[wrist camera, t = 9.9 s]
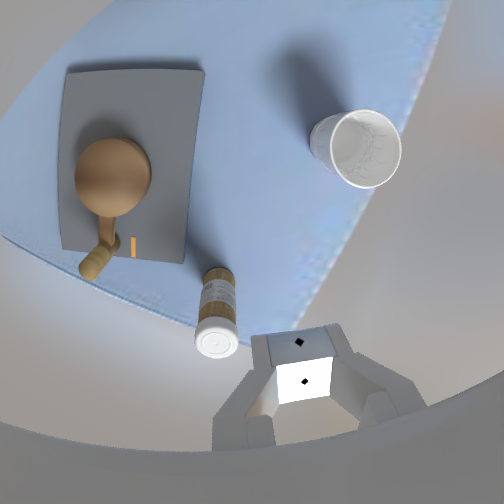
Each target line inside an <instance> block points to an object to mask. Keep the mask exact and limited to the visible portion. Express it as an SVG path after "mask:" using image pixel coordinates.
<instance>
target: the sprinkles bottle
mask: <svg viewBox="0 0 504 504" xmlns="http://www.w3.org/2000/svg"><path fill="white" fill-rule="evenodd" d="M195 345H196V348H197V349H198V351H200V353H202V354H203V355H205V356H207V357H210V358H224V357H227V356H229V355H231V354H232V353H233V352H234V351H235V350H236V349H237V347H238V329H237V327H236V297H235V279H234V276H233V275H232V273H231V272H230V271H228V270H226V269H224V268H214V269H211V270H210V271H208V272H207V273H206V274H205V276H204V278H203V289H202V293H201V299H200V306H199V319H198V325H197V327H196V330H195Z"/></svg>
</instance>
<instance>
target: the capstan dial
mask: <svg viewBox="0 0 504 504" xmlns="http://www.w3.org/2000/svg"><path fill="white" fill-rule="evenodd" d="M151 179H152V168H151V163H150V160H149V158H148V156H147V154H146V152H145V151H144V150H143V148H142V147H141V146H140V145H139V144H137V143H136V142H134V141H132V140H130V139H127V138H122V137H116V138H109V139H103V140H99V141H97V142H94V143H93V144H91V145H90V146H89V147H87V148H86V149H85V150H84V152H83V153H82V154H81V156H80V158H79V160H78V162H77V165H76V168H75V187H76V191H77V193H78V196H79V198H80V199H81V201H82V202H83V204H84V205H85V206H86V207H87V208H88V209H89V210H91V211H92V212H94V213H95V214H98V215H99V229H98V245H97V246H96V247H95V248H94V249H93V250H92V251H91V252H90V253H89V254H88V255H87V256H86V257H85V258H84V260H83V261H82V262H81V263H80V264H79V272H80V274H81V276H82V277H83V278H84V279H86V280H90V281H91V280H94V279H96V277H97V276H98V275H99V273H100V272H101V271H102V269H103V268H104V267H105V266H106V264H107V263H108V262H109V261H110V259H111V258H112V257H113V255H114V254H115V253H116V252H117V251H118V249H119V248H120V245H121V243H120V239H119V238H118V237H117V236H116V235H115V223H116V216H120V215H123V214H125V213H127V212H128V211H130V210H131V209H132V208H133V207H134V206H136V205H137V204H138V203H139V202H140V201H141V200H142V199H143V198H144V197H145V195H146V193H147V192H148V190H149V187H150V184H151Z"/></svg>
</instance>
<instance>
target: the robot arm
mask: <svg viewBox="0 0 504 504" xmlns="http://www.w3.org/2000/svg"><path fill="white" fill-rule="evenodd" d="M251 346H252V355H253V364H254V370H249V372H248V373H247V374H246V376H245V377H244V378H243V380H242V381H241V382H240V384H239V385H238V386H237V388H236V389H235V390H234V392H233V393H232V394H231V395H230V397H229V398H228V399H227V401H226V402H225V403H224V405H223V406H222V407H221V408H220V410H219V411H218V412H217V413H216V415H215V416H214V417H213V429H212V431H213V432H212V451H202V452H175V451H151V450H150V451H149V450H136V449H125V448H116V447H108V446H101V445H93V444H88V443H82V442H76V441H71V440H66V439H61V438H56V437H52V436H48V435H44V434H40V433H36V432H32V431H29V430H25V429H21V428H19V427H15V426H12V425H9V424H6V423H3V422H1V421H0V504H504V370H503V371H502V372H500V373H498V374H496V375H494V376H493V377H491V378H489V379H487V380H485V381H483V382H481V383H479V384H477V385H475V386H473V387H471V388H469V389H467V390H465V391H463V392H461V393H459V394H457V395H454V396H452V397H450V398H448V399H445V400H443V401H441V402H438V403H436V404H433V405H431V406H428V407H427V405H426V403H425V402H424V400H423V399H422V396H421V395H420V393H419V392H418V390H417V388H416V386H415V385H414V383H413V381H411V380H409V379H407V378H406V377H404V376H402V375H400V374H398V373H396V372H394V371H392V370H390V369H388V368H386V367H384V366H383V365H380V364H378V363H377V362H375V361H373V360H371V359H369V358H367V357H366V356H364V355H362V354H360V353H358V352H357V353H353V350H352V348H351V346H350V344H349V342H348V340H347V339H346V336H345V335H344V333H343V331H342V329H341V327H340V325H339V324H338V323H335V324H329V325H324V326H321V327H315V328H309V329H303V330H296V331H288V332H279V333H270V334H263V335H254V336H251ZM324 395H329V396H330V397H331V398H332V399H333V400H335V401H336V402H337V403H338V404H340V405H341V406H342V407H343V408H344V409H346V410H347V411H348V412H349V413H351V414H352V415H353V416H354V417H355V418H357V419H358V420H359V421H360V423H359V427H358V430H355V431H351V432H347V433H343V434H338V435H335V436H330V437H325V438H320V439H315V440H309V441H304V442H298V443H292V444H285V445H278V446H276V442H275V435H274V429H273V423H272V418H273V417H274V415H275V413H276V411H277V409H278V407H279V405H280V403H283V402H289V401H295V400H300V399H305V398H312V397H317V396H324Z"/></svg>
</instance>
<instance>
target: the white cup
mask: <svg viewBox="0 0 504 504" xmlns="http://www.w3.org/2000/svg"><path fill="white" fill-rule="evenodd" d="M310 149H311V151H312V153H313V155H314V157H315V159H317V160H318V161H319V162H320V163H321V164H323V166H324V167H326V168H327V169H329V170H330V171H331V172H333V173H334V174H336V175H337V176H339V177H340V178H342V179H343V180H345V181H346V182H348V183H349V184H351V185H353V186H356V187H360V188H373V187H377V186H379V185H381V184H383V183H385V182H386V181H387V180H389V179H390V178H391V176H392V175H393V174H394V173H395V171H396V169H397V167H398V165H399V162H400V158H401V141H400V137H399V134H398V132H397V130H396V128H395V126H394V125H393V124H392V122H391V121H390V120H389V119H388V118H387V117H386V116H384V115H383V114H381V113H379V112H377V111H374V110H370V109H358V110H353V111H348V112H343V113H339V114H335V115H332V116H330V117H327V118H323V119H322V120H321V121H319V122H318V123H317V124H315V126H314V128H313V130H312V132H311V134H310Z"/></svg>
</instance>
